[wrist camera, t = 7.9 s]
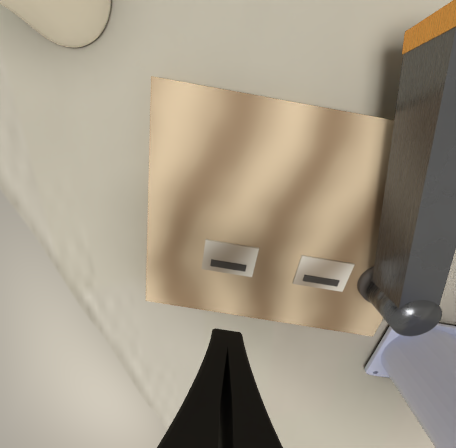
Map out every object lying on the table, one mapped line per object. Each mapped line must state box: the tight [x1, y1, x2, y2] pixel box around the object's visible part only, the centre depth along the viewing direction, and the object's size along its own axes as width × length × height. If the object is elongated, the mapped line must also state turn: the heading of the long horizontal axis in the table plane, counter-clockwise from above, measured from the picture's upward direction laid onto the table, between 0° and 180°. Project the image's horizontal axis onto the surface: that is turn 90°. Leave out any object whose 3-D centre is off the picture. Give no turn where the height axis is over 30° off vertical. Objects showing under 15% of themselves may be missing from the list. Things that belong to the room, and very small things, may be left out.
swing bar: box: [366, 0, 456, 336], centre depth 13 cm, size 19×3×3 cm, turn 7°
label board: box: [146, 76, 394, 337], centre depth 17 cm, size 22×18×2 cm
